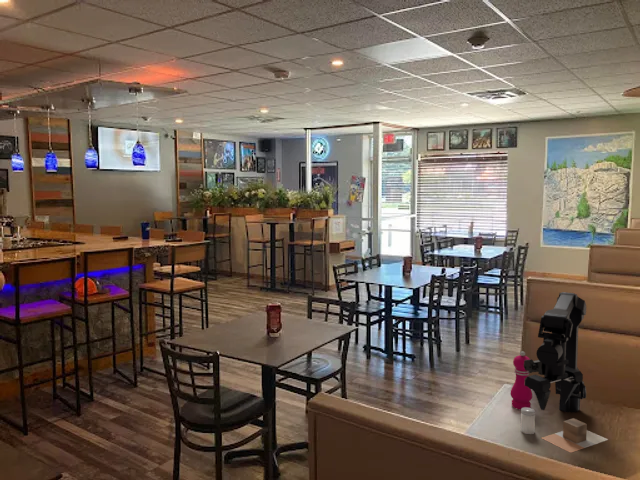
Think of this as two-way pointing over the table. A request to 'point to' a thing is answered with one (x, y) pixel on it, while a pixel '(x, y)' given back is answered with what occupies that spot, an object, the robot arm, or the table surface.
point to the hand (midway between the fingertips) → (553, 406)
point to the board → (571, 446)
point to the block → (574, 430)
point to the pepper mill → (520, 384)
